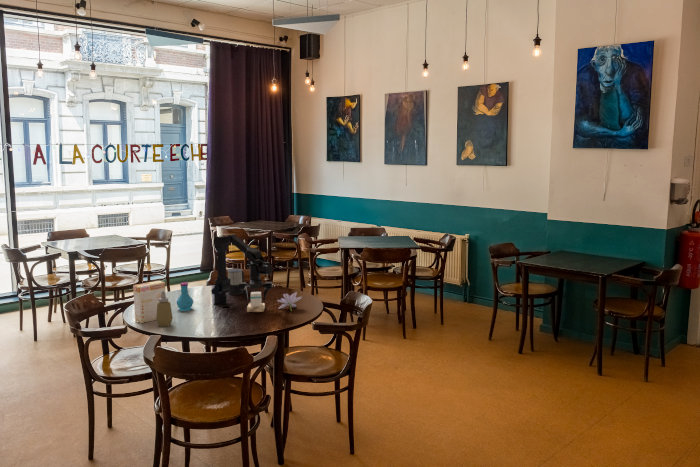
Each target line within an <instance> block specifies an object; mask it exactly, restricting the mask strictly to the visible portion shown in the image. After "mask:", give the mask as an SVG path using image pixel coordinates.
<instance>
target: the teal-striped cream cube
mask: <svg viewBox="0 0 700 467" xmlns="http://www.w3.org/2000/svg"><path fill="white" fill-rule="evenodd" d="M250 303H251V307H260V306H261V303H262V291H251V292H250Z"/></svg>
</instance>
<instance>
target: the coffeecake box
mask: <svg viewBox="0 0 700 467" xmlns="http://www.w3.org/2000/svg"><path fill="white" fill-rule="evenodd" d="M132 289H133V306H134V320H135V322H137V321H138V322H137V323H139V322H140V323H139V324H143V323H144V322H145V323H148V322H153V321H157V320H156V317H157V303H158V302H159V298H161V294H162V291H164V292H165V295H166V282H164V281H161V280H155V281H149V282H144V283H138V284H133V285H132Z"/></svg>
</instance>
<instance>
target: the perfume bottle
mask: <svg viewBox="0 0 700 467" xmlns="http://www.w3.org/2000/svg"><path fill="white" fill-rule="evenodd" d="M179 285H180V291H181V292H180V293H181V294H180V295H179V297H178V299H177V300H176V301H175V302H176V305H177V307H178V308H179V310H178V311H182V312H184V311H185V312H186V311H190V310H192V307H193V304H194V300H193V298H192V297H191V296H190V294H189V293H188V292H189V290H188V286H189V283H188V282H181V283H179Z"/></svg>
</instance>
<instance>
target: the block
mask: <svg viewBox="0 0 700 467" xmlns="http://www.w3.org/2000/svg"><path fill="white" fill-rule="evenodd" d="M265 308H266V303H264V302H261V306H260V307H251V302H249V303H248V305H247V307H246V312H247V313H251V312H252V313H260V312H261V313H262V312H264V311H265Z"/></svg>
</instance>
